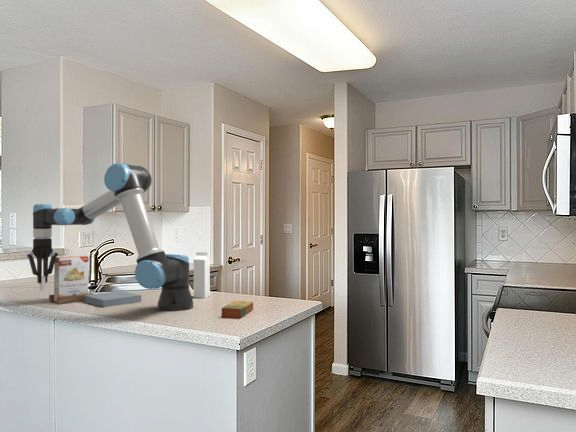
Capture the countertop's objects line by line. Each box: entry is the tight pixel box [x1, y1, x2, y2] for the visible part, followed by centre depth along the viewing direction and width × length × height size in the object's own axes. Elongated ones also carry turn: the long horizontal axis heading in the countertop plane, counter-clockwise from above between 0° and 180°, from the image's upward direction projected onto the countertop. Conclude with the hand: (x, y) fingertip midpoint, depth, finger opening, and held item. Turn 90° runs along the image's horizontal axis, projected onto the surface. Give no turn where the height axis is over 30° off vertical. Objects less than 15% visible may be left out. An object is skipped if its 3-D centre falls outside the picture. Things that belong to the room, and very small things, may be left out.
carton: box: [221, 300, 254, 319], centre depth 189 cm, size 8×16×4 cm, turn 167°
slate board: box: [83, 290, 142, 308], centre depth 217 cm, size 20×18×3 cm
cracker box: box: [53, 255, 90, 303], centre depth 221 cm, size 14×6×21 cm, turn 138°
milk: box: [193, 251, 211, 299], centre depth 230 cm, size 6×6×22 cm
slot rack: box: [48, 292, 94, 305], centre depth 221 cm, size 11×16×3 cm
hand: (42, 290), depth 211 cm, fingers closed
